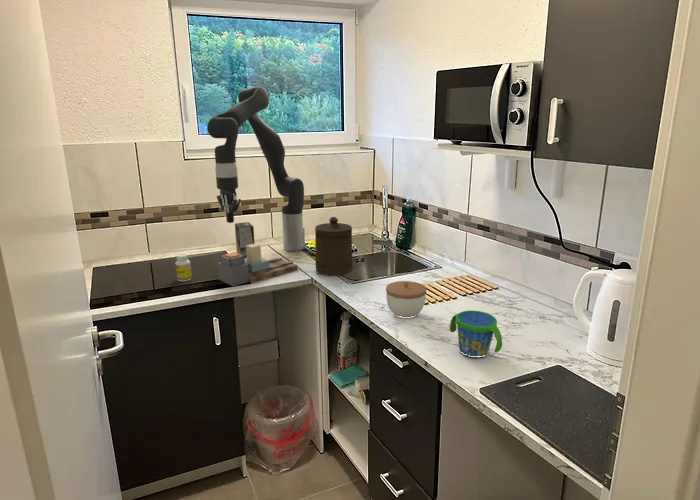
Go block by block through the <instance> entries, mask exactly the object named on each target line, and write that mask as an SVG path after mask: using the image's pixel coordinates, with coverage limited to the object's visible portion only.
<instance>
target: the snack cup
mask: <svg viewBox="0 0 700 500" xmlns="http://www.w3.org/2000/svg"><path fill="white" fill-rule="evenodd" d="M497 323H498V320H497V318H496V317H495V316H494V315H492V314H490V313H487V312H484V311H482V310H481V311H480V310H464V311H461V312H458V313H456V314H455V315H453V316H452V317H451V320H450V323H449V332H451V333H454V332H456V331H457V336H458V337H457V338H458V348H459V349H460V350H459V352H460V351H461V352H463V353H464V354H467V355H470V356H483V355H486V354H487V353H489V350H490V347H491V344H492V341H493V336H494V337H495V341H496V344H495V348H494V353H498V352H500V351H501V349H502V347H503V336H502V333H501V330H500V329H499V327H498V326H497V325H498V324H497ZM487 355H488V354H487ZM487 355H486V356H487Z"/></svg>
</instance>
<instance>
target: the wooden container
mask: <svg viewBox="0 0 700 500" xmlns="http://www.w3.org/2000/svg"><path fill="white" fill-rule="evenodd" d="M328 221H329V222H326V223H325V222H324V223H320V224H318V225H316V226H315V227H314V229H315V231H314V232H315V234H314V235H315V242H314V245H315V247H314V248H315V249H314V250H315V253H314V255H315V256H314V258H315V272H316V273H317V274H320V275H322V276H326V277H327V276H330V277H337V276H336V275H340V276H345V275H348V274H350V273H351V272H353V238H352V237H353V228H352V225H351V224H347V223H341V222H339V219H338V218H337V217H335V216H331V217H330V218H329V220H328Z"/></svg>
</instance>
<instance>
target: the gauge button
mask: <svg viewBox="0 0 700 500" xmlns="http://www.w3.org/2000/svg"><path fill="white" fill-rule="evenodd" d="M224 255H225V257H227V258H234V257H238V256H240V254H237V252H235V253H234V252H229V253H226V254H224Z"/></svg>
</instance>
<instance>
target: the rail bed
mask: <svg viewBox="0 0 700 500" xmlns="http://www.w3.org/2000/svg"><path fill="white" fill-rule="evenodd" d="M268 260H269V265H270V268H267V269H263V270H260V271H256V272H250V271H249V282H248V283H250V284H253V283H259V282H260V281H264V280H268V279H271V278H274V277H277V276H280V275H286V274H288V273H291V272H294V271H297V270H299V269H298V268H299V267H298V264H296V263H294V262H293V261H292V260H290V261H288V260H284V259H283V257H275V258H271V259H268Z"/></svg>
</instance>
